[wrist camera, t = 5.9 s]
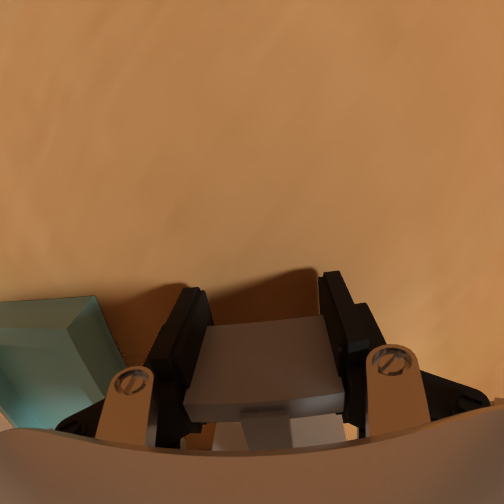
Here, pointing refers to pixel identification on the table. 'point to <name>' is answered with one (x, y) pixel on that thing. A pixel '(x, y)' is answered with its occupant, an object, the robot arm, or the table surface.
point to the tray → (54, 359)
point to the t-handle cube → (268, 385)
